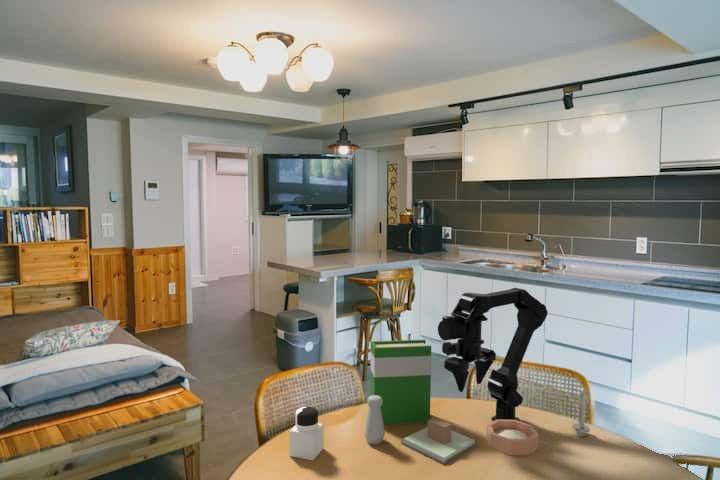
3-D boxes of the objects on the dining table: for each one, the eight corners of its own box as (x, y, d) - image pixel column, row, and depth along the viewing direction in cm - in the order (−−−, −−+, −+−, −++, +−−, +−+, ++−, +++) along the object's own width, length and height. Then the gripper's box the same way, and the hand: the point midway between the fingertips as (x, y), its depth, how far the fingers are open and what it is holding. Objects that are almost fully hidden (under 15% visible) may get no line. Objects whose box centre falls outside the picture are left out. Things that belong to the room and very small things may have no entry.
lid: (435, 426, 146) (435, 407, 146) (474, 443, 136) (475, 422, 135) (403, 441, 137) (404, 421, 136) (443, 461, 126) (444, 439, 126)
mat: (434, 427, 147) (434, 425, 147) (476, 445, 136) (476, 443, 136) (400, 443, 137) (400, 441, 137) (443, 464, 126) (443, 462, 126)
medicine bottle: (324, 448, 134) (324, 406, 133) (313, 461, 127) (313, 417, 126) (300, 444, 136) (300, 402, 135) (288, 456, 129) (288, 412, 128)
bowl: (503, 428, 147) (503, 415, 146) (544, 444, 137) (545, 430, 137) (479, 442, 138) (479, 428, 137) (521, 460, 128) (521, 445, 128)
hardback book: (423, 411, 158) (424, 339, 156) (429, 421, 151) (431, 346, 149) (369, 414, 155) (370, 341, 154) (374, 425, 148) (374, 348, 146)
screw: (593, 436, 142) (581, 439, 140) (580, 429, 146) (568, 432, 144) (595, 393, 141) (583, 396, 139) (582, 387, 145) (569, 389, 143)
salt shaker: (382, 447, 135) (383, 401, 134) (362, 445, 136) (363, 400, 135) (386, 437, 140) (386, 393, 139) (366, 435, 141) (367, 392, 140)
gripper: (466, 325, 156) (465, 373, 157) (429, 336, 143) (428, 387, 144) (497, 332, 147) (496, 382, 149) (461, 344, 135) (460, 399, 136)
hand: (469, 387), depth 144 cm, fingers open, 9 cm apart
